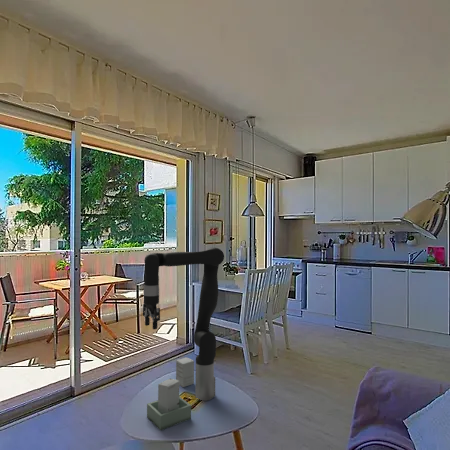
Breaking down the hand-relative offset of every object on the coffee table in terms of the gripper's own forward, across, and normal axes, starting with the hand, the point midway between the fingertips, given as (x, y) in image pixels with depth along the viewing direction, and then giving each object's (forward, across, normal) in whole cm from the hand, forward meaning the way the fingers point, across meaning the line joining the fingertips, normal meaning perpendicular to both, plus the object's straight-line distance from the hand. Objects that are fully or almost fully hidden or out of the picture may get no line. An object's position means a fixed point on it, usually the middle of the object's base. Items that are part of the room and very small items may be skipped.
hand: (151, 327), depth 170 cm
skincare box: (+35, -19, 0) cm, 40 cm away
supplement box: (+36, +7, -24) cm, 44 cm away
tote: (+36, -19, 0) cm, 41 cm away
